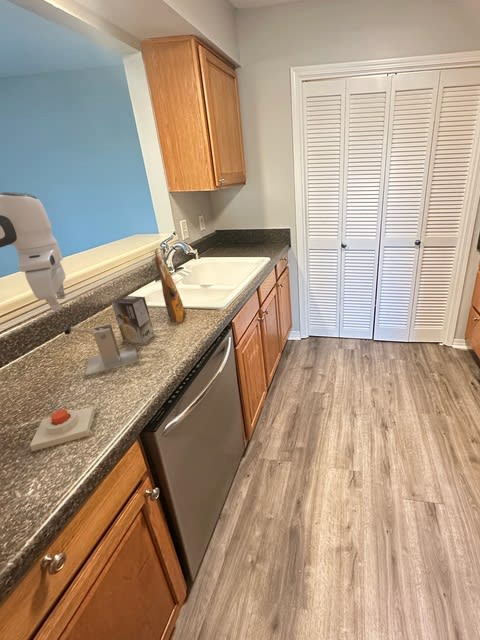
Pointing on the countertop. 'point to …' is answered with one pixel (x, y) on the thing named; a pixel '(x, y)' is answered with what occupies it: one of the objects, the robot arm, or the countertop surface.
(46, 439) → the control block
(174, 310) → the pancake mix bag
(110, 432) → the countertop surface
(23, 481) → the countertop surface
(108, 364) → the toaster bracket
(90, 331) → the toast lever
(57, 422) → the button
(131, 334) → the coffee box
